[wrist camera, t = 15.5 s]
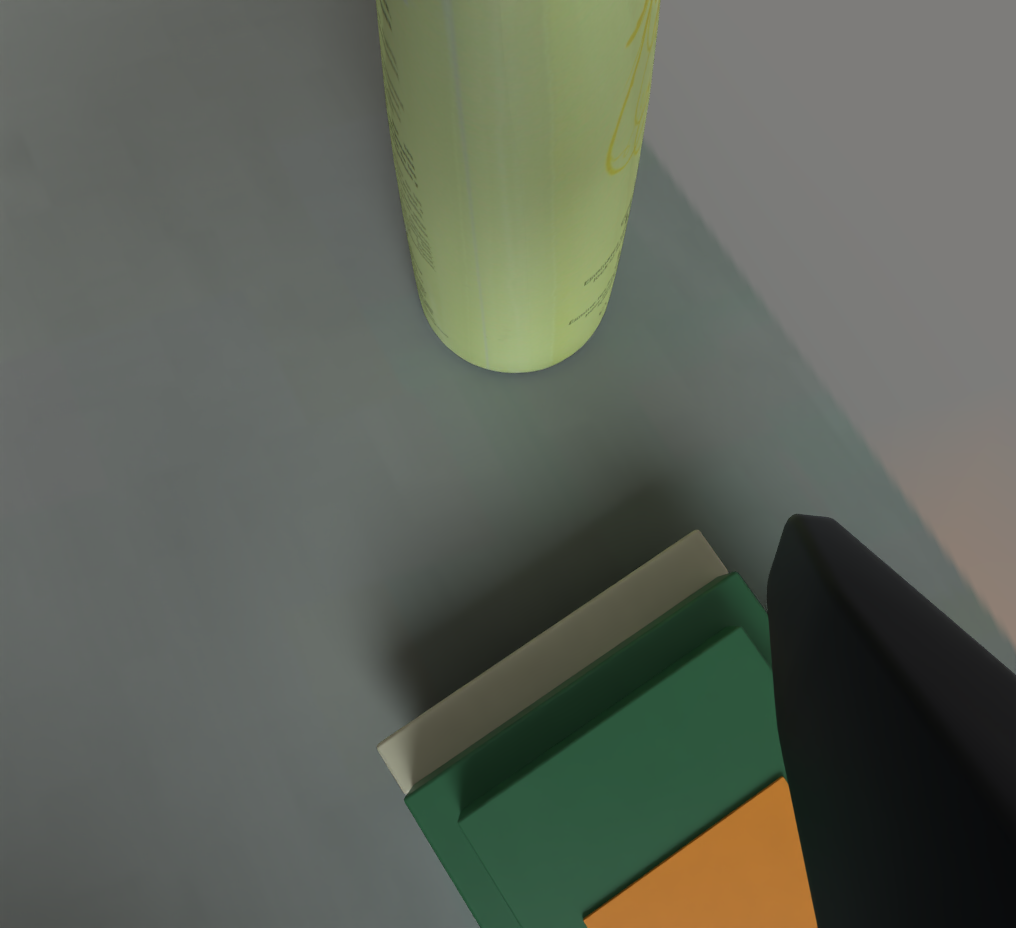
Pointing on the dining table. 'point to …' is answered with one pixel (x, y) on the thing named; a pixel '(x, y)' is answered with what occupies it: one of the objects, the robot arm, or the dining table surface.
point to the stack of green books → (618, 765)
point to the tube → (516, 163)
